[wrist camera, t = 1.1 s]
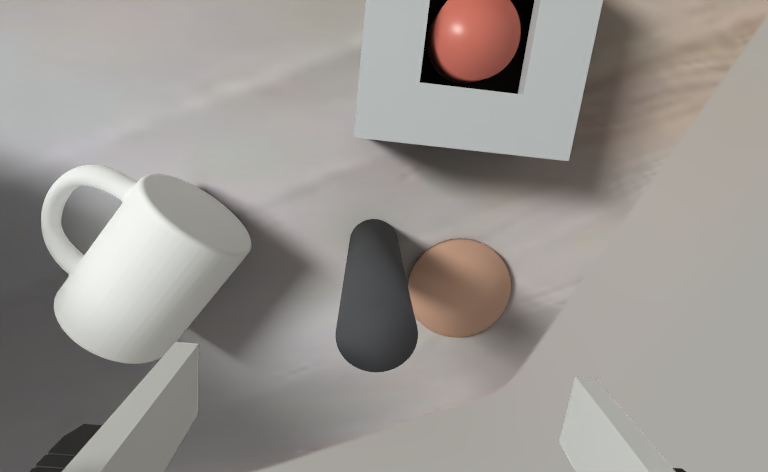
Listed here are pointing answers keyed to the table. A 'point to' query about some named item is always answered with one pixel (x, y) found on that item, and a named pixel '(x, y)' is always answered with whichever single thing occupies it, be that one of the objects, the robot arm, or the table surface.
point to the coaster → (459, 287)
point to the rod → (375, 302)
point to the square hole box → (474, 106)
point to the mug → (141, 262)
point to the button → (473, 39)
